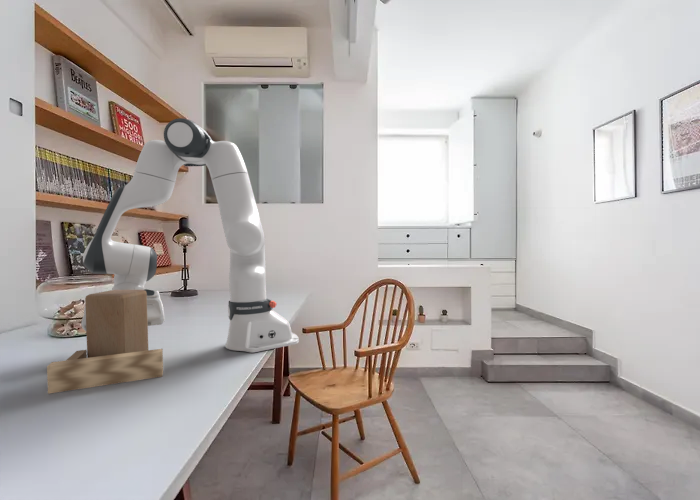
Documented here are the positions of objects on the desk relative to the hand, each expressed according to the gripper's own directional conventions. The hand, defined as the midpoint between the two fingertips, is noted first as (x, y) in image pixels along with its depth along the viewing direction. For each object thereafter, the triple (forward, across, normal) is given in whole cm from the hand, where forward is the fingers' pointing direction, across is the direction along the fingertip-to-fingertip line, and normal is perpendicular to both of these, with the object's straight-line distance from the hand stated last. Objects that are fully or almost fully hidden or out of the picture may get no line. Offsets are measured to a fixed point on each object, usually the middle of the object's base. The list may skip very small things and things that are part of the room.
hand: (122, 339), depth 98 cm
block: (+9, 0, -1) cm, 9 cm away
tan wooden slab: (+13, 0, -5) cm, 14 cm away
